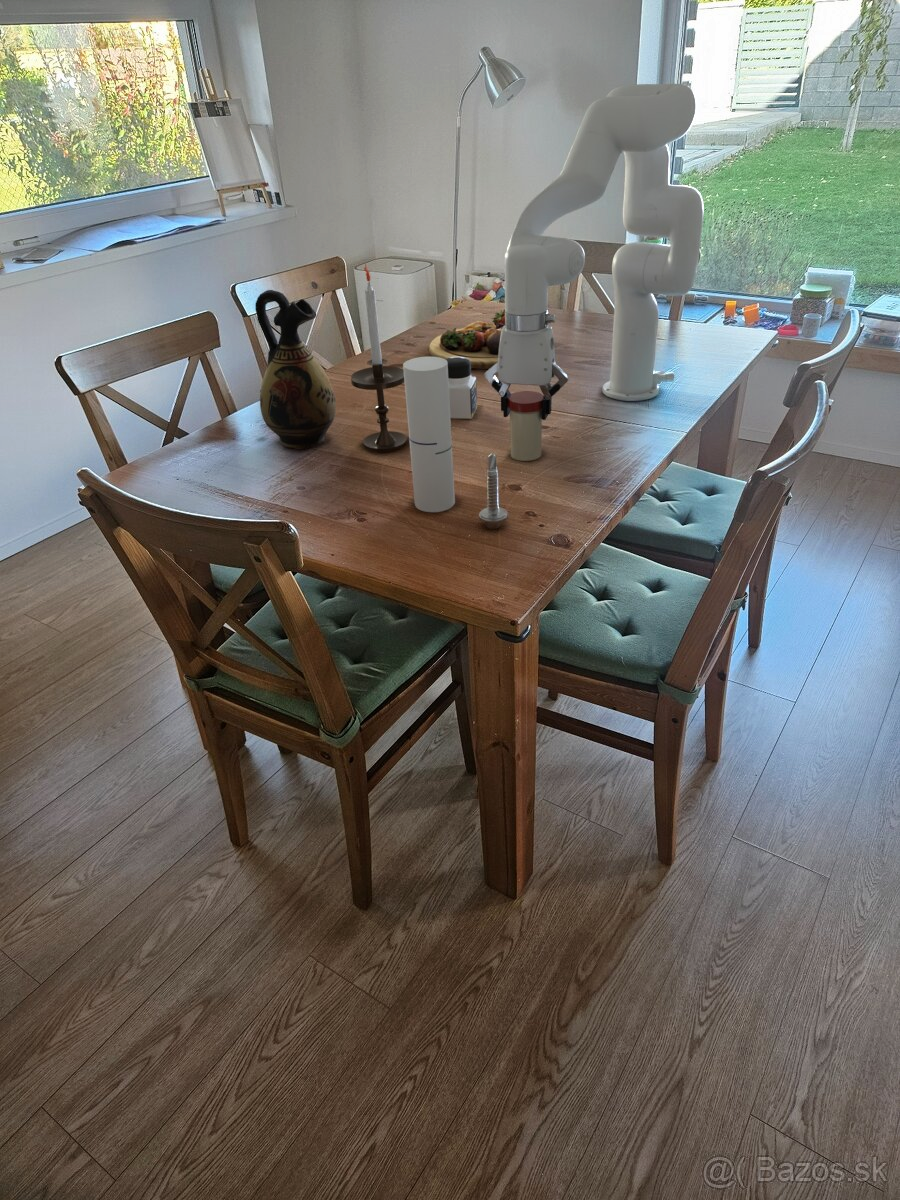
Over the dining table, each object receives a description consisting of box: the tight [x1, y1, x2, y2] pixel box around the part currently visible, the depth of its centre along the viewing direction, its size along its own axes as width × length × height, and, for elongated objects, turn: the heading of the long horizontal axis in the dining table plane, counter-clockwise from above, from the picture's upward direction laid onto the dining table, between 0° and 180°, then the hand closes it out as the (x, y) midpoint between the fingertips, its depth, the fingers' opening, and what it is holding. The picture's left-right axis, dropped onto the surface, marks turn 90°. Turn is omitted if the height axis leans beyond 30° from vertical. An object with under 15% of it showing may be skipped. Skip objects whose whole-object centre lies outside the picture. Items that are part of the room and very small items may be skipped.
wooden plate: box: [428, 308, 505, 370], centre depth 214 cm, size 32×32×8 cm
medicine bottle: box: [446, 356, 478, 420], centre depth 177 cm, size 7×7×12 cm
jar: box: [509, 410, 543, 462], centre depth 157 cm, size 6×6×11 cm
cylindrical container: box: [402, 356, 456, 513], centre depth 138 cm, size 7×7×25 cm
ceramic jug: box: [254, 289, 337, 450], centre depth 164 cm, size 17×15×30 cm
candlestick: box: [350, 263, 408, 454], centre depth 159 cm, size 11×11×35 cm
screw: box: [478, 453, 509, 530], centre depth 134 cm, size 13×5×5 cm
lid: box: [508, 390, 544, 413], centre depth 154 cm, size 7×7×2 cm
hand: (526, 415), depth 156 cm, fingers closed on lid, 6 cm apart
